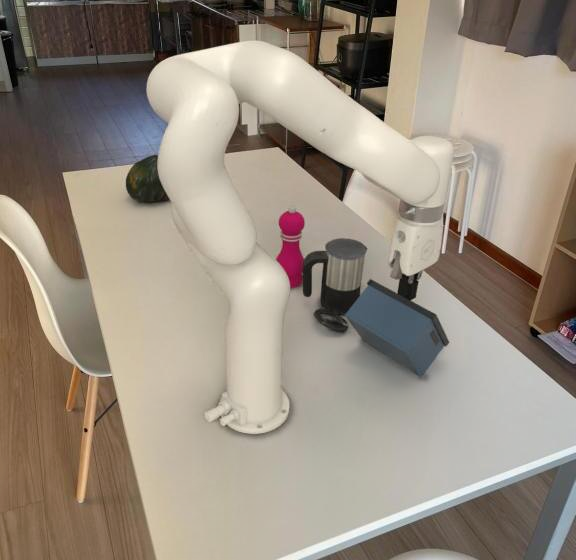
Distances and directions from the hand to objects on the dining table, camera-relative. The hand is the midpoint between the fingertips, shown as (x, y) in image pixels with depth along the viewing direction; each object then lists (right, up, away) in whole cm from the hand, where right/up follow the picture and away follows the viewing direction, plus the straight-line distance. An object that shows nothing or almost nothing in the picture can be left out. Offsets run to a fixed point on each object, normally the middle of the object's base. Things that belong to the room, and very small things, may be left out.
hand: (406, 296), depth 111 cm
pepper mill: (-22, +3, +31) cm, 38 cm away
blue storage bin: (+1, -9, +7) cm, 12 cm away
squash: (-65, +28, +70) cm, 99 cm away
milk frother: (-12, -5, +19) cm, 23 cm away
